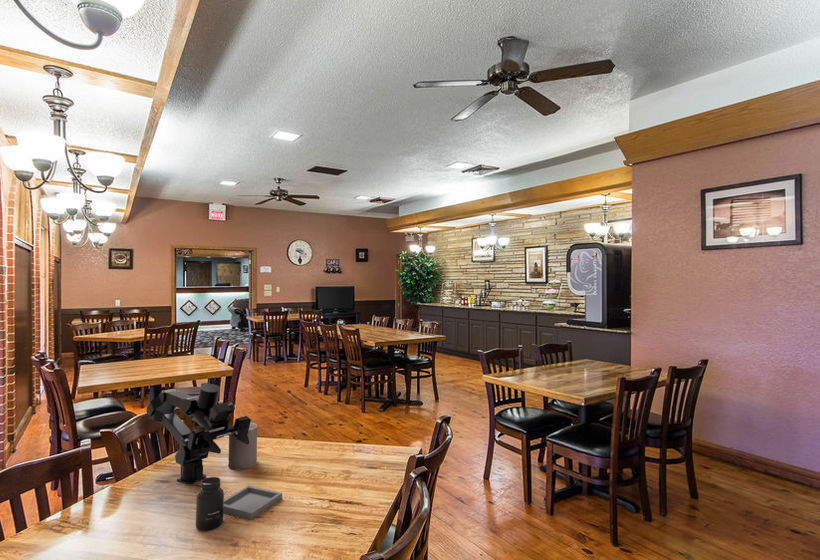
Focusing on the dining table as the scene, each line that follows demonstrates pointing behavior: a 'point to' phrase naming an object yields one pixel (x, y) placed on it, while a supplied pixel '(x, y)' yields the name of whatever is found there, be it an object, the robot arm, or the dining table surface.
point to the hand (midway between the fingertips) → (234, 447)
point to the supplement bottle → (209, 505)
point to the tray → (250, 502)
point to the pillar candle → (243, 450)
